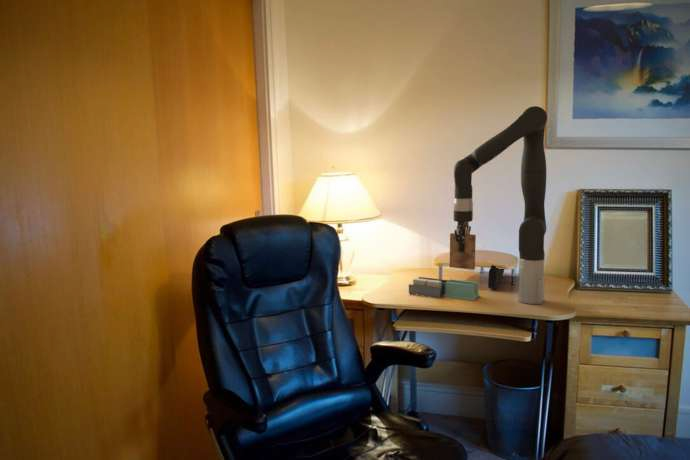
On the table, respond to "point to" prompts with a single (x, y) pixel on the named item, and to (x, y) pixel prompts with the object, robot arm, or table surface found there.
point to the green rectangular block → (462, 289)
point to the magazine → (494, 277)
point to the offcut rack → (429, 289)
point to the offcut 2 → (433, 283)
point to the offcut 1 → (419, 281)
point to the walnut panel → (463, 258)
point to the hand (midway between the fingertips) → (462, 251)
